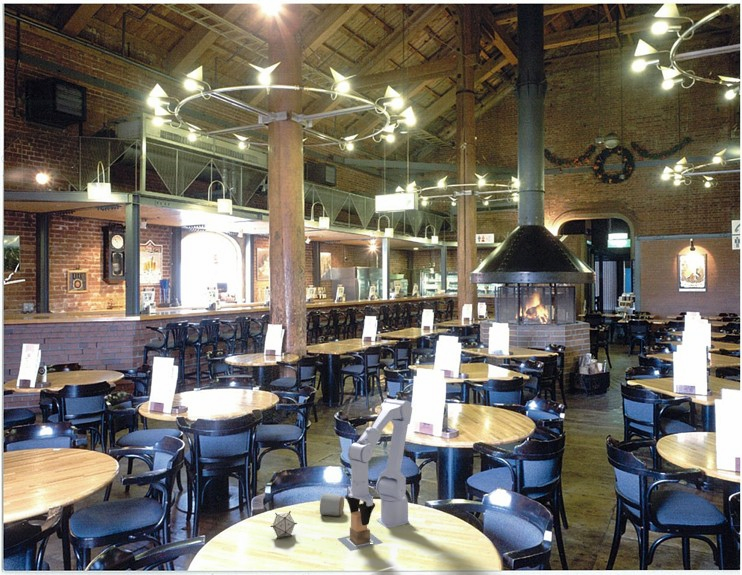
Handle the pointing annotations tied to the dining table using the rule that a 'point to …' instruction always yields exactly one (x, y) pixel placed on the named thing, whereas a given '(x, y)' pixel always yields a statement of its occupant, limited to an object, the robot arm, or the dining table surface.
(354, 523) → the terracotta block
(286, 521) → the game die
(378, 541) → the mat
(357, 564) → the dining table surface
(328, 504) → the grey cylinder
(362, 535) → the walnut block
